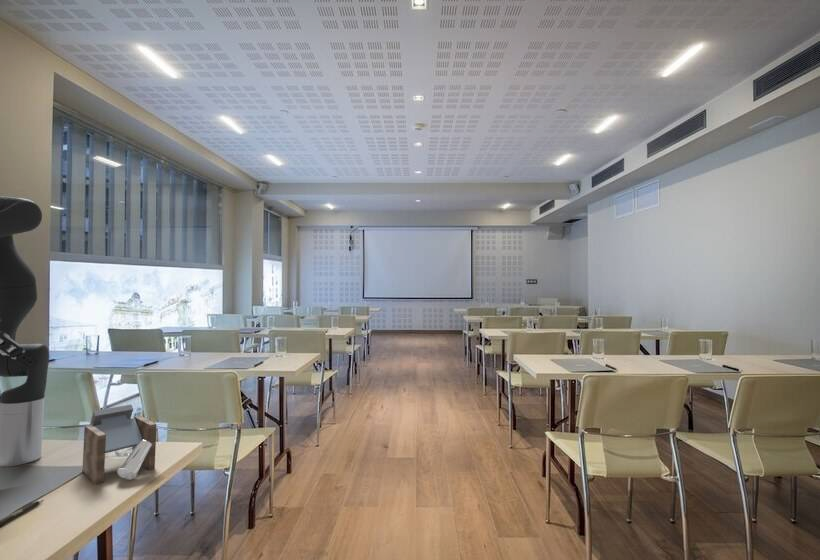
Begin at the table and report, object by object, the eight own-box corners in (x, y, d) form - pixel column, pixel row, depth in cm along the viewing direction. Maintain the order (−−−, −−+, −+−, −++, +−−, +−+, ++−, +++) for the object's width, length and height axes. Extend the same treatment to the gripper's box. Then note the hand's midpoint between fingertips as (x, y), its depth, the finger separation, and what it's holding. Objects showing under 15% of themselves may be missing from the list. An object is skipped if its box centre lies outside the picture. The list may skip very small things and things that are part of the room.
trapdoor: (88, 426, 113) (92, 410, 111) (127, 419, 120) (132, 404, 118) (98, 463, 105) (103, 447, 103) (140, 453, 113) (145, 437, 111)
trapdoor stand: (82, 470, 108) (84, 425, 109) (137, 456, 118) (139, 415, 119) (96, 484, 100) (98, 435, 101) (154, 468, 110) (156, 423, 111)
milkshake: (160, 445, 108) (136, 483, 101) (148, 448, 110) (124, 485, 103) (145, 437, 106) (120, 475, 98) (134, 440, 108) (109, 478, 101)
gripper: (-14, 305, 86) (53, 354, 95) (-22, 305, 95) (40, 349, 104) (-54, 332, 82) (20, 380, 90) (-57, 328, 91) (10, 373, 99)
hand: (31, 363), depth 97 cm, fingers open, 8 cm apart
